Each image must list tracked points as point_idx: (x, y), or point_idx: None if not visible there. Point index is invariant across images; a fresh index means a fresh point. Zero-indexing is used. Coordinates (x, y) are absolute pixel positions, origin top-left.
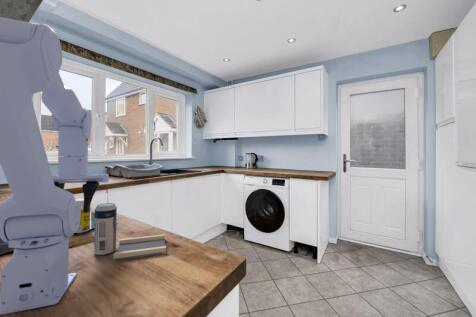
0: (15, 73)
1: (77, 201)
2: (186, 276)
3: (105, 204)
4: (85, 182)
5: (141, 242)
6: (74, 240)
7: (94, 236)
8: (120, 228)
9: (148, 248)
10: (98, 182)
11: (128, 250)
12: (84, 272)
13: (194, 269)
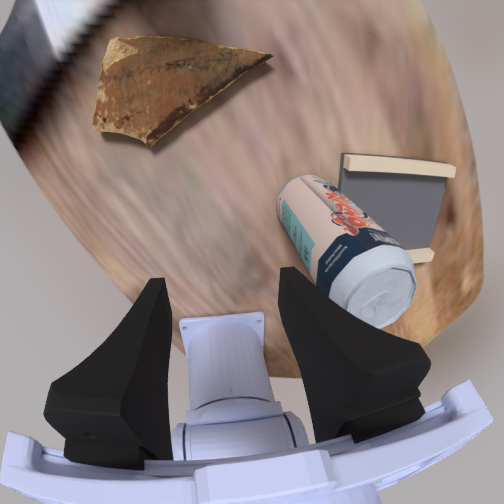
0: None
1: None
2: (412, 330)
3: (381, 283)
4: (337, 445)
5: (398, 177)
6: (178, 94)
7: (293, 242)
8: None
9: None
10: (418, 397)
11: None
12: (274, 300)
13: (428, 315)
